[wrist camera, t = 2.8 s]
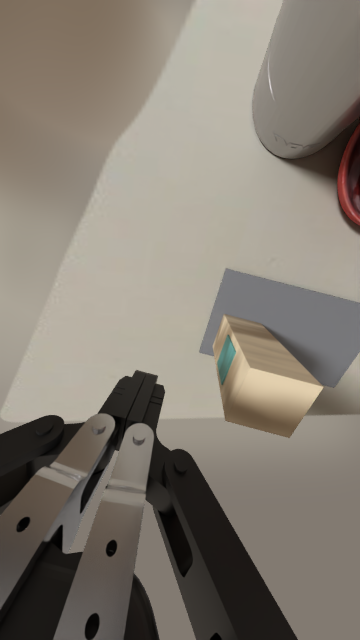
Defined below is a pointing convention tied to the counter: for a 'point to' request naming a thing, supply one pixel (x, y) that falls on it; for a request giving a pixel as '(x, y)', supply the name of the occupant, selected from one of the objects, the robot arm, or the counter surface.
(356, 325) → the rubber mat
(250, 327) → the maple block
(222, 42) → the counter surface
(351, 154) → the plant pot
